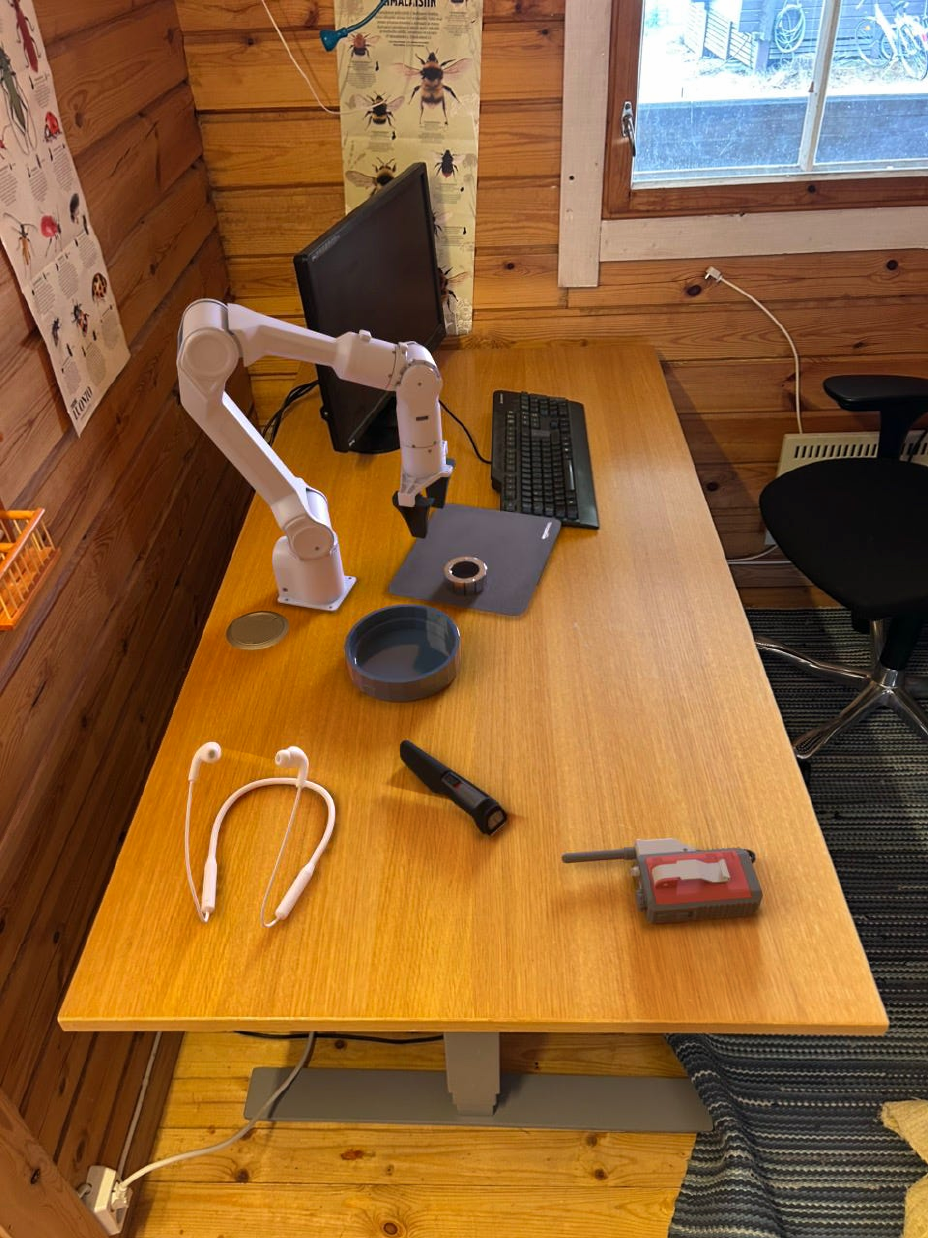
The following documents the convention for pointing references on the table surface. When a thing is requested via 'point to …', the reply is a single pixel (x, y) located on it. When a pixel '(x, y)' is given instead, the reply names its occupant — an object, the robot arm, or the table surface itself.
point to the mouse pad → (479, 557)
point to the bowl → (403, 652)
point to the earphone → (284, 759)
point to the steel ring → (470, 584)
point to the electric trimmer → (454, 788)
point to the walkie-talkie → (686, 879)
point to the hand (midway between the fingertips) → (428, 521)
